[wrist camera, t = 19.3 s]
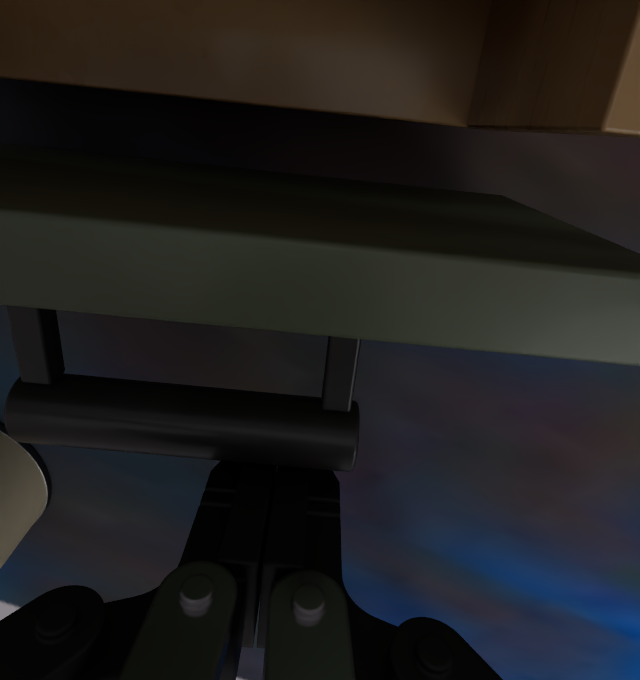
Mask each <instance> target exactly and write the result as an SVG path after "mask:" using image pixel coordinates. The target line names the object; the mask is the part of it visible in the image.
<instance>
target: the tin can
mask: <svg viewBox="0 0 640 680" xmlns="http://www.w3.org/2000/svg"><path fill="white" fill-rule="evenodd" d="M50 498H51V480H50V477H49V473H48V471H47V468H46V466H45V464H44V463H43V461H42V459H41V458H40V456H39V455H38V454H37V452H36V451H35V450H34V449H33V448H32V447H31V446H30V445H29V444H28V443H22V442H17V441H15V440H13V439H12V438H11V437H10V436H9V435H8V433H7V431H6V428H5V426H4V425H2V424H0V568H1V567H2V566H3V564H4V563H5V562H6V560H7V559H8V558H9V556H10V555H11V554H12V552H13V551H14V549H15V548H16V547H17V545H18V544H19V543H20V541H21V540H22V539H23V537H24V536H25V535H26V533H27V532H28V531H29V529H30V528H31V527H32V525H33V524H34V523H35V522H36V521H37V520H38V519H39V518H40V517H41V515H42V514H43V513H44V511H45V510H46V508H47V506H48V504H49V502H50Z"/></svg>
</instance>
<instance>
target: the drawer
mask: <svg viewBox="0 0 640 680" xmlns="http://www.w3.org/2000/svg"><path fill="white" fill-rule="evenodd" d="M0 78H3V79H12V80H22V81H31V82H40V83H50V84H59V85H69V86H78V87H87V88H97V89H106V90H115V91H125V92H134V93H143V94H153V95H162V96H172V97H181V98H190V99H200V100H209V101H218V102H228V103H237V104H247V105H256V106H265V107H275V108H284V109H293V110H303V111H312V112H322V113H331V114H340V115H350V116H359V117H368V118H378V119H387V120H397V121H406V122H415V123H425V124H434V125H443V126H453V127H462V128H471V129H481V130H491V131H511V132H532V133H552V134H572V135H593V136H613V137H633V138H640V0H0ZM0 305H7V311H8V316H9V321H10V326H11V331H12V336H13V341H14V346H15V351H16V356H17V361H18V366H19V371H20V377H19V378H18V379H17V380H16V382H15V383H14V385H13V386H12V388H11V390H10V392H9V394H8V397H7V400H6V404H5V411H4V423H5V428H6V431H7V433H8V435H9V436H10V437H11V438H12V439H13V440H15V441H17V442H22V443H33V444H44V445H55V446H66V447H77V448H89V449H100V450H111V451H122V452H133V453H144V454H155V455H166V456H177V457H189V458H200V459H211V460H222V461H233V462H244V463H255V464H266V465H277V466H289V467H300V468H311V469H322V470H333V471H344V472H350V471H352V470H353V468H354V466H355V462H356V457H357V450H358V441H359V423H360V416H359V406H358V403H357V402H356V401H353V400H352V398H353V392H354V385H355V378H356V371H357V364H358V358H359V351H360V344H361V339H363V340H374V341H384V342H394V343H405V344H415V345H426V346H436V347H446V348H457V349H467V350H478V351H488V352H498V353H509V354H519V355H529V356H540V357H550V358H561V359H571V360H581V361H592V362H602V363H613V364H623V365H633V366H640V254H639V253H636V252H634V251H632V250H629V249H627V248H625V247H622V246H620V245H618V244H615V243H613V242H611V241H608V240H606V239H603V238H601V237H599V236H596V235H594V234H592V233H589V232H587V231H585V230H582V229H580V228H578V227H575V226H573V225H570V224H568V223H566V222H563V221H561V220H559V219H556V218H554V217H552V216H549V215H547V214H545V213H542V212H540V211H538V210H535V209H533V208H530V207H528V206H526V205H523V204H521V203H519V202H516V201H514V200H512V199H509V198H507V197H505V196H502V195H493V194H483V193H474V192H464V191H454V190H445V189H435V188H426V187H416V186H406V185H397V184H387V183H377V182H368V181H358V180H348V179H339V178H329V177H319V176H310V175H300V174H291V173H281V172H271V171H262V170H252V169H242V168H233V167H223V166H213V165H204V164H194V163H184V162H175V161H165V160H156V159H146V158H136V157H127V156H117V155H107V154H98V153H88V152H78V151H69V150H59V149H49V148H40V147H30V146H21V145H11V144H1V143H0ZM56 310H62V311H72V312H83V313H93V314H104V315H114V316H124V317H135V318H145V319H156V320H166V321H176V322H187V323H197V324H207V325H218V326H228V327H239V328H249V329H259V330H270V331H280V332H291V333H301V334H311V335H322V336H328V345H327V354H326V363H325V371H324V380H323V389H322V398H321V397H310V396H299V395H288V394H278V393H267V392H256V391H246V390H235V389H224V388H213V387H203V386H192V385H181V384H171V383H160V382H149V381H138V380H128V379H117V378H106V377H96V376H85V375H74V374H63V373H64V371H65V367H64V360H63V354H62V347H61V340H60V334H59V327H58V321H57V314H56Z"/></svg>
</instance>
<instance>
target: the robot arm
mask: <svg viewBox="0 0 640 680" xmlns="http://www.w3.org/2000/svg"><path fill="white" fill-rule="evenodd" d="M276 473H277V475H276ZM260 595H261V597H260ZM259 602H260V610H259V624H258V637H257V648H265V654H264V665H263V678H262V680H503V679H502V678H501V677H500V676H499V675H498V674H497V673H496V672H495V671H494V670H493V669H492V668H491V667H490V666H489V665H488V664H487V663H486V662H485V661H484V660H483V659H482V658H481V657H480V656H479V655H478V654H477V653H476V652H475V651H474V649H473V648H472V647H471V646H470V645H469V644H468V643H467V642H466V641H465V640H464V639H463V638H462V637H461V636H460V635H459V634H458V633H457V632H456V631H455V630H453V629H452V628H451V627H449V626H448V625H446V624H444V623H443V622H441V621H438V620H435V619H432V618H427V617H416V618H412V619H409V620H406V621H405V622H403V623H402V624H401V625H400V626H399V627H397V626H394V625H392V624H390V623H387V622H385V621H383V620H380V619H378V618H376V617H373V616H371V615H370V614H368V613H366V612H365V611H363V610H362V609H361V608H359V607H358V606H357V605H356V604H355V603H354V602H353V600H352V599H351V598H350V596H349V595H348V593H347V591H346V589H345V587H344V584H343V580H342V563H341V526H340V488H339V481H338V479H337V478H336V476H335V474H334V472H333V471H332V470H322V469H311V468H300V467H289V466H278V468H277V465H266V464H255V463H244V462H233V461H222V460H221V461H220V462H219V463H218V464H217V465H216V466H215V467H214V468H213V469H212V470H211V473H210V476H209V479H208V481H207V484H206V487H205V491H204V493H203V496H202V499H201V502H200V506H199V508H198V511H197V514H196V517H195V520H194V523H193V525H192V528H191V531H190V534H189V537H188V540H187V543H186V546H185V549H184V552H183V555H182V558H181V560H180V563H179V565H178V567H177V568H176V569H175V570H173V571H172V572H171V573H170V574H169V575H167V576H166V578H165V579H164V580H163V581H162V583H161V585H160V586H159V587H157V588H155V589H153V590H152V591H150V592H147V593H145V594H142V595H139V596H135V597H131V598H126V599H122V600H117V601H112V602H108V603H104V602H103V600H102V598H101V597H100V595H99V594H98V593H97V592H96V591H94V590H92V589H91V588H88V587H85V586H78V585H72V586H64V587H60V588H56V589H53V590H51V591H48V592H46V593H44V594H42V595H41V596H39V597H37V598H36V599H34V600H32V601H31V602H29V603H28V604H26V605H24V606H23V607H21V608H20V609H18V610H16V611H15V612H14V613H12V614H10V615H9V616H7V617H5V618H4V619H2V620H1V621H0V680H236V676H237V671H238V665H239V659H240V653H241V647H252V648H253V643H254V636H255V629H256V622H257V615H258V609H259Z"/></svg>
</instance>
